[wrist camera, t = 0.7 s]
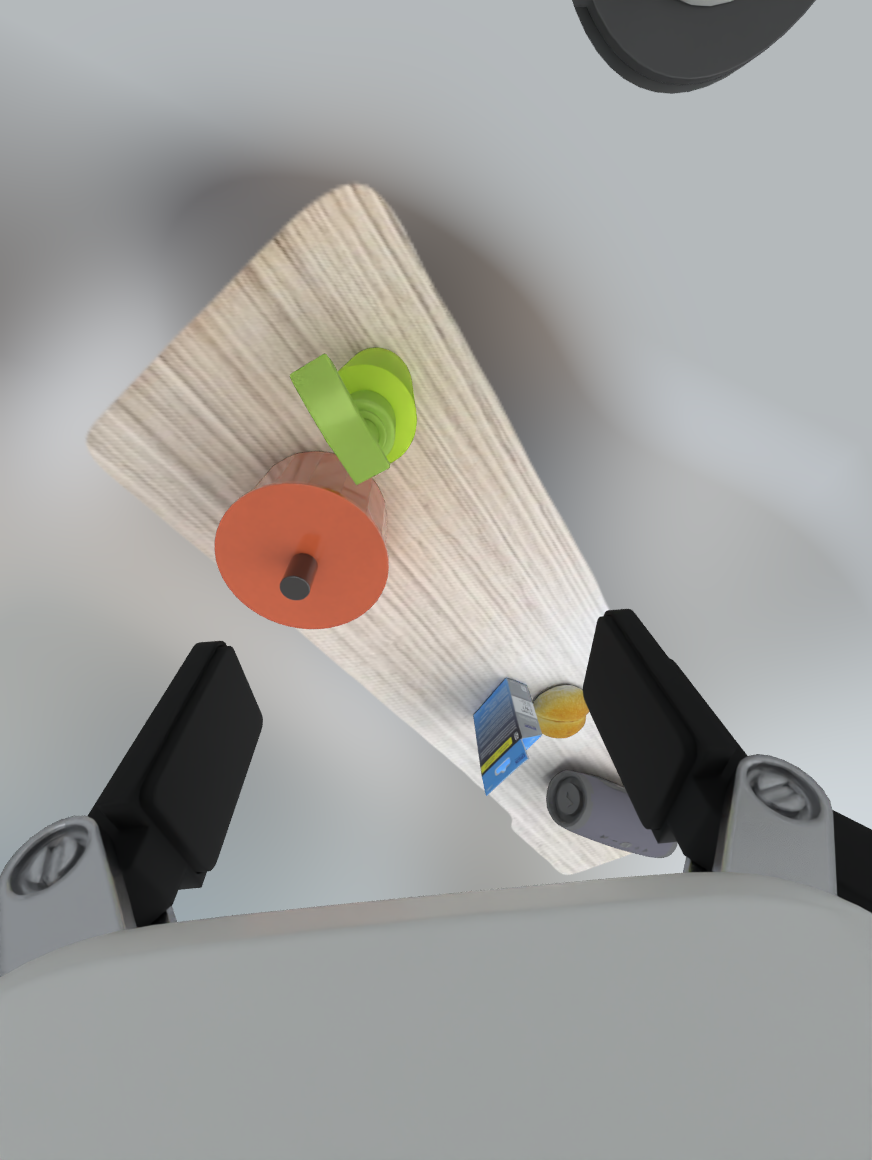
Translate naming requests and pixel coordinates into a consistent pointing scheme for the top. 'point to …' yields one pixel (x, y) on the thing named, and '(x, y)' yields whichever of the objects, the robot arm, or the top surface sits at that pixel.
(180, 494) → the top surface
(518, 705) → the label tape box
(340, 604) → the pot lid
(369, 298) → the top surface
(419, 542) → the top surface
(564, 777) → the bluetooth speaker
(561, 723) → the bread roll
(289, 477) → the pot
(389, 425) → the soap dispenser
